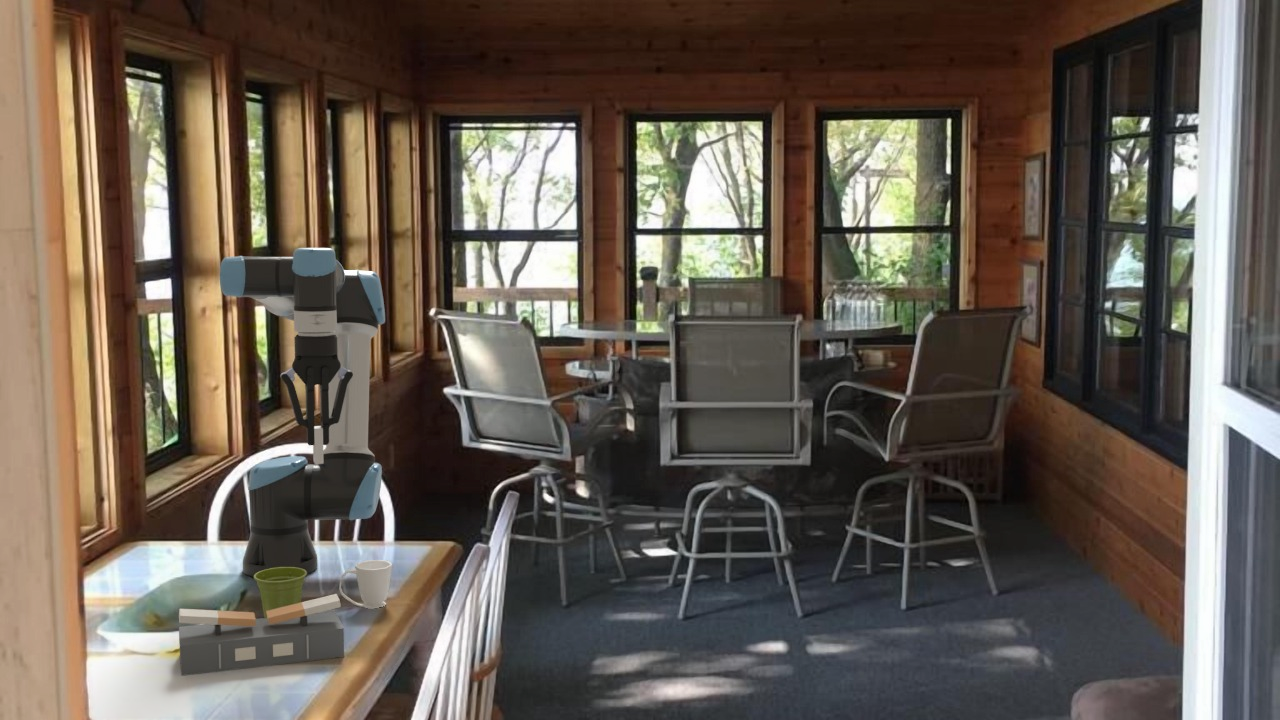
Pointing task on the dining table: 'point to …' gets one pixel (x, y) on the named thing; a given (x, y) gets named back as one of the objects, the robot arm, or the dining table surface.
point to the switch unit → (260, 643)
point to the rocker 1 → (217, 617)
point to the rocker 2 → (303, 609)
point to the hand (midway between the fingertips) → (318, 462)
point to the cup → (371, 582)
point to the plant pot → (280, 586)
